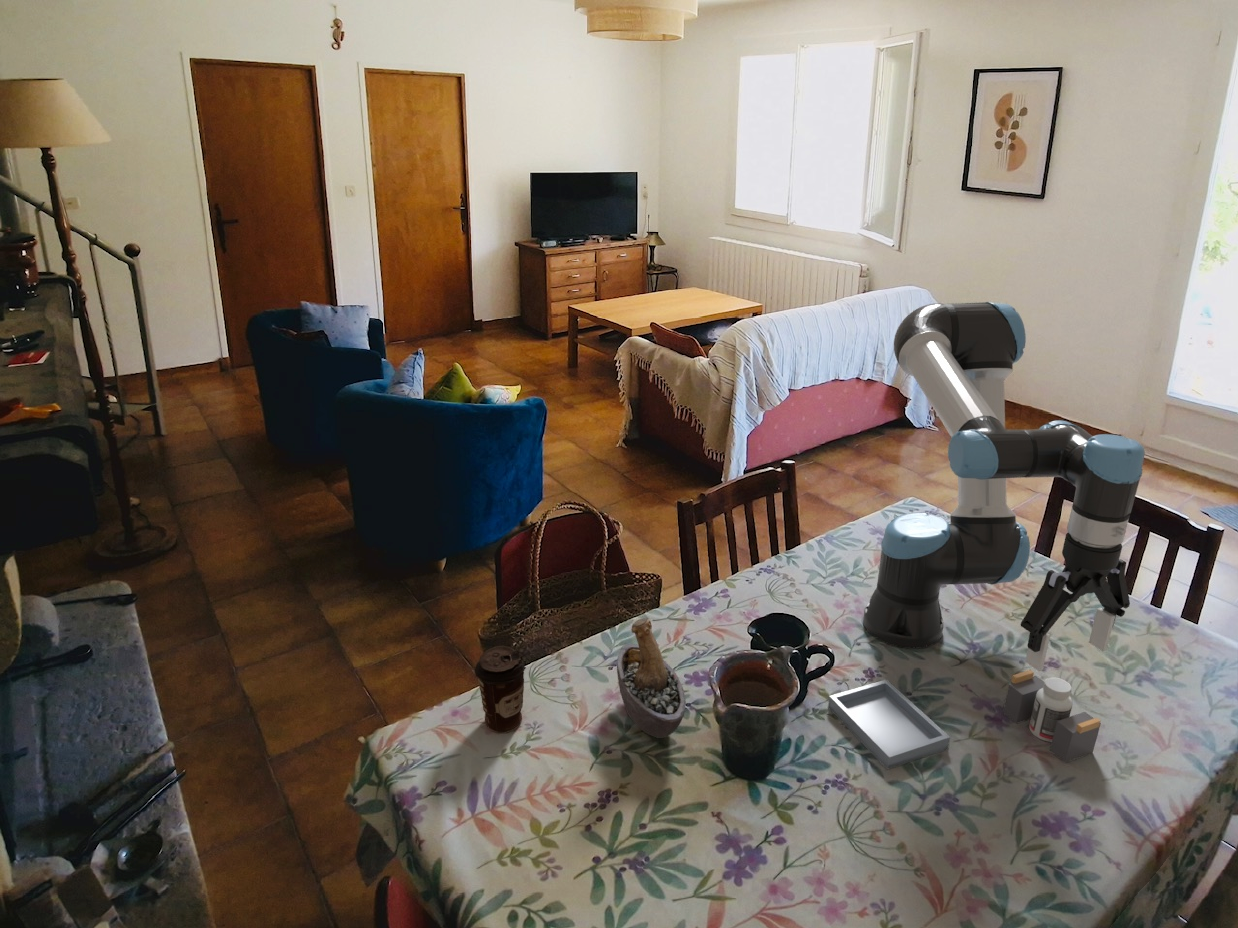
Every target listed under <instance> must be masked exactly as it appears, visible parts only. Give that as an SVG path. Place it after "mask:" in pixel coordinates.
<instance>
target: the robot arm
mask: <svg viewBox="0 0 1238 928" xmlns="http://www.w3.org/2000/svg"><path fill="white" fill-rule="evenodd" d="M1026 340H1027V339H1026V329H1025V324H1024V322H1023V319H1022V317H1021V316H1020V314H1019V312H1018V311H1017V310H1016V308H1015V307H1013V306H1012V305H1010V304H1008V303H1001V302H991V301H986V302H983V301H982V302H955V303H953V302H952V303H941V302H939V303H929V304H926V305H922V306H920V307H918V308H916V309H914V310H913V311H912V312H910V313H909V314H908V315H907V316H906V317H904V319H903V320H902V322H901V323H900V324H899V326H898V327H897V330H896V332H895V335H894V340H893V353H894V356H895V359H896V361H897V363H898V365H899V366H900V369H902V371H903V372H905V374H907V375H908V376H912V377H913V378H914V380H915V382H916V383H917V384H918V386H919V388H920V389H921V391H922V392H923V394H924V395H925V397H926V399H927V400H928V402H929V403H930V405H931V406H932V408H933V410H934V411H935V413H936V415H937V416H938V418H939V420H940V421H941V423H942V424H943V426H944V428H945V429H946V431H947V432H948V435H949V436H950V440H949V443H948V448H947V449H948V450H947V459H948V460H949V466H950V469H951V472H953V474H954V475H955V476H956V477H957V492H958V493H957V494H958V496H957V497H958V500H957V501H958V502H957V503H958V504H957V507H955V509H953V511H951V513H949V514H950V523H948V521H947V520H946V519H945V518H943V517H941V516H939V515H936V514H928V513H927V512H911V513H905V514H902V515H899V516H896V517H895V518H893V519H892V520H890V522H889V523H888V524H887V525H886V527H885V528H884V529H885V530H884V534H883V538H882V539H881V544H880V545H881V551H880V558H879V567H878V575H877V581H876V582H877V583H876V587H875V590H874V592H873V594H871V597H870V598H869V599H870V600H869V602H867V604H866V606H865V608H864V611H863V619H862V622H863V623H862V624H863V626H864V628H865V629H866V630H867V632H868V633H869V634H870V635H872V636H873V637H874V638H876V639H877V640H879V641H881V642H883V643H886V644H888V645H891V646H894V647H899V648H904V649H905V648H906V649H922V648H928V647H931V646H933V645H935V644H937V643H938V642H939V641H940V640H941V638H942V636H943V631H944V619H943V617H942V615H943V614H942V609H941V605H940V600H939V597H940V593H941V591H940V590H941V586H943V585H944V586H945V585H976V584H977V585H978V584H979V585H981V584H984V585H985V584H988V585H991V586H992V585H997V584H1005V583H1012V582H1014V581H1017V580H1018V579H1019V578H1020V577H1021V575H1022V574H1023V573H1024V572H1025V570H1026V568H1027V565H1028V562H1029V558H1030V552H1031V544H1030V543H1031V542H1030V537H1029V536H1028V535H1027V534H1028V531H1027V529H1026V527H1025V526H1024V525H1023V524H1022V523H1019V522H1018V521H1017V519H1016V512H1014V511H1013V510H1012V509H1011V508H1010V507H1009V506H1008V504H1007V479H1016V478H1017V479H1018V478H1019V479H1021V478H1026V479H1028V478H1062V479H1063V480H1065V481H1067V482H1068V483H1069V484H1070V485H1072V486H1073V487H1075V492H1074V498H1073V503H1072V506H1071V510H1070V515H1069V518H1068V522H1067V527H1066V529H1067V533H1066V534H1065V537H1064V542H1063V547H1062V551H1061V555H1062V557H1063V559H1064V561H1065V566H1064V568H1063V570H1062V571H1061V572H1056V571H1054V570H1052V569H1050V570H1049V571H1047V573H1046V576H1045V579H1044V582H1043V585H1041V587H1040V590H1039V591H1038V592H1037V595H1036V597H1034V600H1033V601H1032V603H1031V605H1030V606H1029V608H1028V611H1027V612H1026V613H1025V615H1024V617H1023V619H1022V621H1021V623H1020V627H1021V628H1023V629H1024V630H1025V631H1027V632H1029V636H1028V640H1027V641H1028V642H1027V645H1026V646H1027V652H1026V657H1025V661H1024V662H1025V663H1026V664H1028V665H1029V666H1030V667H1033V669H1035V670H1037V671H1038V672H1042V671H1043V669H1044V666H1045V661H1046V657H1047V651H1048V648H1049V644H1050V638H1051V634H1050V633H1048V632H1049V631H1050V630H1051V629H1052V627H1053V626H1054V625H1055V623H1056V622H1057V621H1058V620H1059V619H1060V617H1061V616H1062V615H1063V614H1064V612H1065V611H1066V610H1067V609H1068V607H1069V606H1070V605H1071V603H1076V602H1077V601H1078V600H1079V599H1080V598H1081V597H1083V596H1085V595H1088V594H1094V595H1095V597H1096V598H1097V599H1098V602H1099V603H1100V605H1101V607H1098V608H1096V612H1095V616H1094V620H1093V623H1092V629H1091V630H1090V631H1091V632H1090V635H1089V639H1088V643H1089V644H1090V645H1092V646H1094V647H1095V648H1097V649H1098V650H1100V651H1101V652H1106V651H1107V650H1108V646H1109V642H1110V638H1111V633H1112V631H1113V628H1114V626H1115V625H1114V624H1115V621H1116V617H1117V616H1118V617H1120V618H1121V617H1123V616H1124V615H1125V614H1126V611H1125V610H1124V609H1128V608H1129V607H1130V604H1131V603H1130V597H1129V591H1128V590H1129V589H1128V585H1127V578H1126V568H1127V562H1126V561H1125V560H1123V559H1121V554H1122V549H1123V544H1122V543H1123V542H1124V540H1125V537H1126V533H1127V527H1128V523H1129V520H1130V517H1131V513H1132V511H1133V510H1132V509H1133V506H1134V502H1135V499H1136V496H1137V492H1138V491H1137V490H1138V488H1139V484H1140V482H1141V481H1140V479H1141V477H1142V475H1143V466H1144V465H1143V464H1144V460H1145V454H1146V452H1145V448H1144V447H1143V445H1142V443H1140V442H1138V441H1137V440H1135V439H1132V438H1127V437H1126V436H1122V435H1117V434H1110V433H1109V434H1108V433H1105V434H1096V435H1092V434H1091V433H1089V432H1088V431H1087V430H1085V429H1083V428H1082V426H1081V427H1080V426H1079V425H1076V424H1073V423H1071V422H1070V421H1065V420H1060V419H1059V420H1053V421H1050V422H1047V423H1046V424H1043V425H1042V426H1040V427H1039V428H1038V429H1032V428H1030V429H1007V428H1006V415H1005V414H1006V410H1005V409H1006V407H1005V404H1006V403H1005V401H1006V400H1005V381H1006V378H1007V377H1009V376H1010V374H1011V373H1012V372H1013V370H1014V369H1013V368H1014V367H1013V364H1015V363H1017V362H1019V361H1020V360H1021V358H1022V357H1023V354H1024V349H1025V348H1026ZM1065 589H1067V591H1066V590H1065ZM1068 591H1069V592H1068ZM1102 607H1103V608H1102ZM1122 608H1123V609H1122Z"/></svg>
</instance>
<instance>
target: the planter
mask: <svg viewBox="0 0 1238 928" xmlns="http://www.w3.org/2000/svg"><path fill="white" fill-rule="evenodd" d="M651 622H652V621H651V620H650V619H647V618H640V619H637V620H635V621H634V622H633V623H632V625H631V633H633V634H634V636H635V638H636V642H637V644H636V643H631V642H628V643H625V644H624V645H622V646H621V648H620V649H619V652H618V655H617V660H616V671H617V672H616V673H617V681H618V686H619V693H620V697H621V699H622V702H623V705H624V707H625V710H626V712H627V714H628V716H629V718H630V719H631V720H632V722H633V723H634V724H635V725H636V726H637V727H638V728H639V729H640V730H641V731H643V732H644V733H646V734H648V735H649V736H652V737H653V738H659V739H660V738H661V739H663V738H667V737H668V736H670V735H672V734H673V733H674V732H675V731H676V730H677V729H678V727H679V726H680V724H681V723H682V720H683V718H684V715H685V712H686V703H687V700H686V695H685V690H684V688H683V685H682V682H681V680H680V678H679V676H678V675H677V673H676V671H675V670H674V669H673V668H672V667H671V665H670V664H668V663H667V662H666V660H664V659H663V655H662V653H661V649H660V647H659V644H658V642H657V639H656V637H655V635H654V633H653V631H652V623H651Z"/></svg>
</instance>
